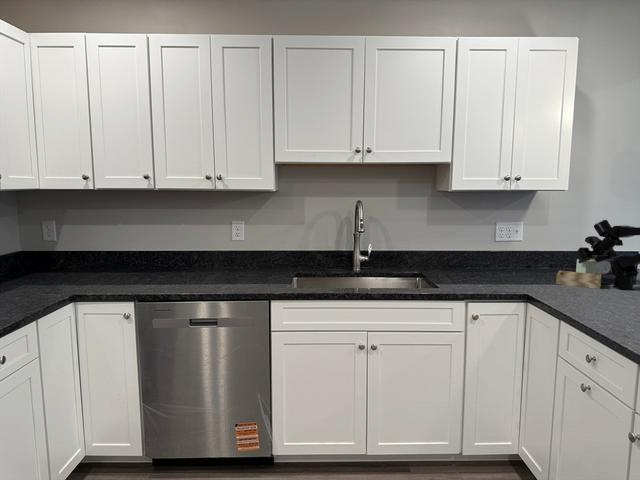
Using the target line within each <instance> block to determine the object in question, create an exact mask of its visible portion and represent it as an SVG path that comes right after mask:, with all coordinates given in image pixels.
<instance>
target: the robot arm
mask: <svg viewBox="0 0 640 480" xmlns="http://www.w3.org/2000/svg"><path fill="white" fill-rule="evenodd" d="M593 229H594V230H595V231H596V233H597V235H598V236H599V237H600V238H599V237H598V236H595V235H593V236H591V235H590V236H587V237H585V239H584V242H585V243H586V244H589V245H590V248H591V249H592V250H590V249H589V247H581V246H580V247H579V248H578V249H577V252H578V254H579V255H580V256H579V258H578V259H579V261H578V262H579V264H580V263H583V262H586V261H588V260H590V259H593V256H596V257H595V258H594V259H595V261H596V263H597V262H601V261H605V260H607V261H610V260H612V259H613V260H612V261H611V262H610V263H611V272H612V275H613V276H614V277H615V278H614V279H613V280H614V282H613V285H612V287H613V288H614V289H615V288H616V289H619V290H622V291H626V290H627V291H630V290H631V291H635V290H636V288H634V278H635V277H637V276H638V274H639V271H638V270H637V269H636V267H637V266H638V265H640V253H636V254H635V255H633V256H632V255H619V256H617V255H618V253H617V252H616V250H615V249H614V247H615V246H616V247H618V246H619V247H623V246H624V244H623V240H622V239H620V238H624V239H625V238H632V237H635V236H640V227H638V226H637V227H635V226H631V225H614V226H611V224H610V223H609V220H608V219H603V220H602V221H599V222H596V223H595V224H593ZM601 237H603V239H601Z"/></svg>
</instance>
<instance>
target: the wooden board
mask: <svg viewBox="0 0 640 480" xmlns="http://www.w3.org/2000/svg"><path fill="white" fill-rule="evenodd" d="M555 278H556V280H555V285H560V286H562V285H563V286H569V287H571V286H572V287H579V288H587V287H588V289H589V288H590V289H596V288H597V289H598V290H601V282H602V274H590V273H579V272H576V271H570V270H569V271H566V270H558V272H557V273H556V277H555Z"/></svg>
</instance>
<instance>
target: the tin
mask: <svg viewBox="0 0 640 480" xmlns="http://www.w3.org/2000/svg"><path fill="white" fill-rule="evenodd" d="M595 259H596V258H591V259H590V260H595ZM610 272H612V269H611V262H610V260H605V261H601V262H597V263H596V272H595V274H601V275H608V274H609V273H610Z"/></svg>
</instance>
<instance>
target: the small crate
mask: <svg viewBox="0 0 640 480" xmlns="http://www.w3.org/2000/svg"><path fill="white" fill-rule="evenodd" d="M579 259H580V258H577V259H576V269H575V272H579V273H590V274H595V272H596V261H595V260H588V261H586V262H583V263H580V264H579V262H578V261H579Z"/></svg>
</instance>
